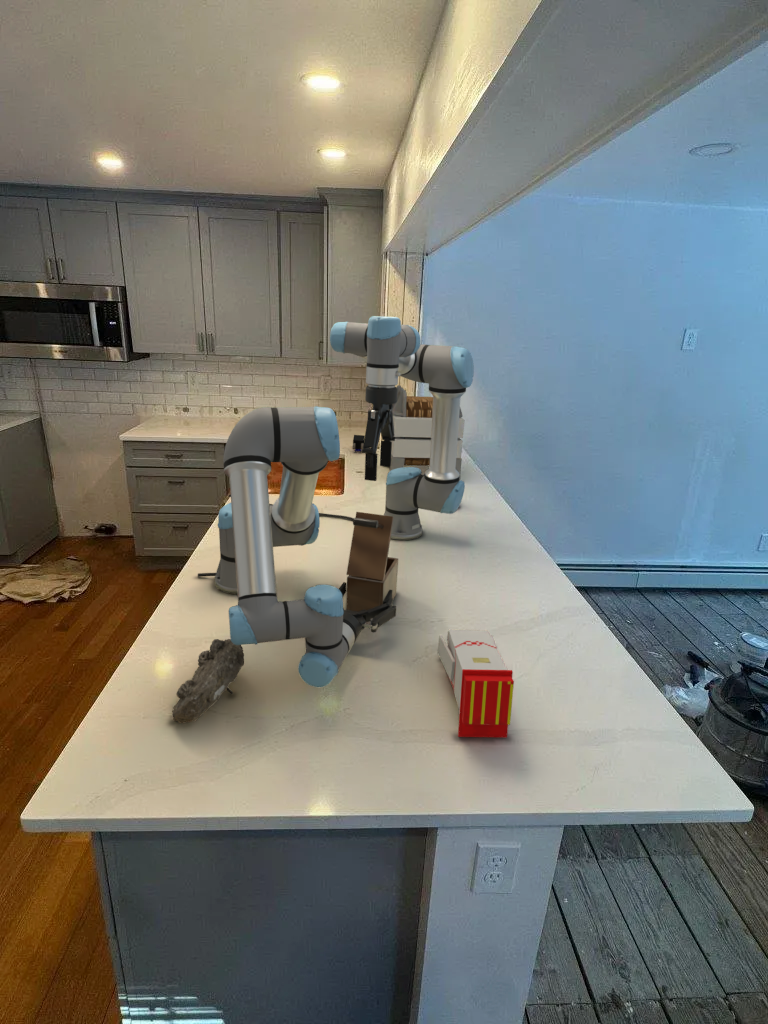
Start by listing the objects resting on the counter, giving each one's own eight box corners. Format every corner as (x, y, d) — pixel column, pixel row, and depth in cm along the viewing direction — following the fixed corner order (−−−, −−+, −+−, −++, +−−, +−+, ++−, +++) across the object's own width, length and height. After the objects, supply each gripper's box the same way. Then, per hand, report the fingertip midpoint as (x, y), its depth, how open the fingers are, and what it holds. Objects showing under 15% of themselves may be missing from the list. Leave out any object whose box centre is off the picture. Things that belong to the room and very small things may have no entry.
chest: (363, 588, 160) (365, 553, 156) (396, 593, 158) (398, 558, 154) (346, 615, 146) (347, 577, 142) (381, 621, 144) (383, 583, 140)
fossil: (195, 641, 124) (244, 609, 119) (226, 670, 127) (274, 640, 122) (149, 717, 105) (205, 683, 100) (186, 749, 107) (242, 718, 102)
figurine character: (364, 456, 306) (364, 446, 320) (364, 442, 303) (365, 433, 317) (351, 455, 306) (352, 446, 320) (352, 442, 303) (353, 433, 316)
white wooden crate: (382, 463, 289) (386, 382, 275) (445, 464, 293) (451, 384, 279) (390, 482, 257) (394, 392, 243) (460, 483, 261) (468, 394, 247)
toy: (488, 613, 130) (523, 677, 101) (484, 667, 133) (517, 744, 104) (435, 612, 130) (455, 676, 101) (432, 666, 133) (451, 743, 103)
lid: (357, 512, 144) (347, 507, 135) (393, 517, 142) (386, 512, 133) (347, 574, 143) (337, 574, 134) (384, 580, 140) (375, 580, 132)
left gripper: (289, 639, 129) (323, 596, 149) (391, 658, 124) (412, 611, 144) (289, 610, 127) (323, 570, 147) (392, 629, 121) (414, 584, 141)
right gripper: (383, 393, 121) (379, 488, 128) (408, 381, 144) (404, 462, 151) (349, 391, 123) (347, 484, 130) (380, 379, 145) (377, 459, 152)
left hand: (367, 590), depth 145 cm, fingers open, 11 cm apart
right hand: (378, 472), depth 140 cm, fingers open, 13 cm apart
